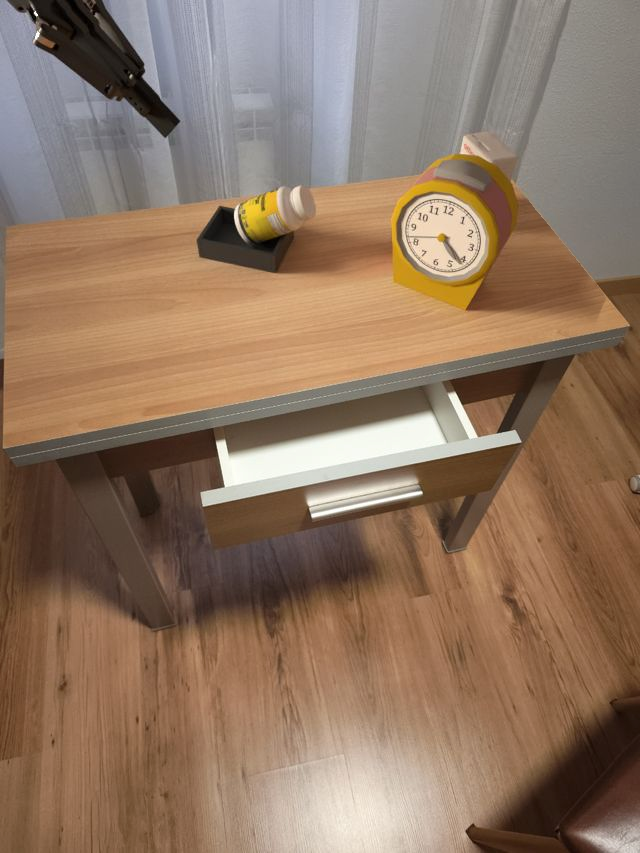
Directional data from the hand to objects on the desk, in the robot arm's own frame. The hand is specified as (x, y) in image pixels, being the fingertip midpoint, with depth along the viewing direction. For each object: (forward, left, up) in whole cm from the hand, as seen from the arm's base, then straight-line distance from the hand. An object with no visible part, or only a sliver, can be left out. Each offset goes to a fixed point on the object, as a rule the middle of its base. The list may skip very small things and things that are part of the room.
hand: (172, 129), depth 76 cm
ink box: (+46, -4, -17) cm, 49 cm away
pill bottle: (+8, -4, -13) cm, 16 cm away
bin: (+8, -4, -17) cm, 19 cm away
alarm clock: (+34, -19, -17) cm, 42 cm away
